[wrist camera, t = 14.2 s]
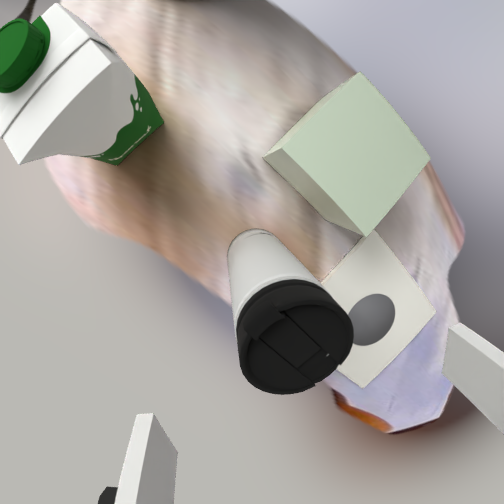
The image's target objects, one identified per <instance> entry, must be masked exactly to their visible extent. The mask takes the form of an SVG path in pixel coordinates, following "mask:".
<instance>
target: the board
mask: <svg viewBox="0 0 504 504" xmlns="http://www.w3.org/2000/svg"><path fill="white" fill-rule="evenodd" d="M321 284H322V285H323V286H324V288H325V289H326V290H327V291H328V292H329V293H330V294H331V296H332V297H333V299H334V300H335V301H336V302H337V303H338V304H339V305H340V306H341V307H342V308H343V310H344V311H345V312H346V313H347V314H348V316H349V318H350V319H351V322H352V325H353V328H354V340H353V345H352V348H351V351H350V353H349V355H348V357H347V358H346V359H345V361H344V362H343V363H342V365H341V366H340V365H338V367H337V370H338V371H339V372H341V373H342V374H343V375H345V376H346V377H347V378H349V379H350V380H352V381H353V382H354V383H356V384H357V385H358V386H360V387H361V388H364V387H365V386H367V385H368V384H369V383H370V382H371V381H372V380H373V379H374V378H375V377H376V376H377V375H378V374H379V373H380V372H381V371H382V370H383V369H385V368H386V367H387V366H388V365H389V364H390V363H391V362H392V361H393V360H394V359H395V358H396V356H397V355H398V354H399V353H400V352H401V351H402V350H403V349H404V348H405V347H406V346H407V345H408V344H409V343H410V342H411V341H412V340H413V338H414V337H415V336H416V335H417V334H418V333H419V332H420V331H421V329H422V328H423V327H424V326H425V325H426V324H427V323H428V321H429V320H430V319H431V318H432V317H433V315H434V314H435V313H436V310H435V309H434V307H433V306H432V304H431V303H430V301H429V300H428V299H427V297H426V296H425V294H424V293H423V291H422V290H421V289H420V287H419V286H418V285H417V283H416V282H415V280H414V279H413V278H412V276H411V275H410V274H409V272H408V271H407V270H406V268H405V267H404V266H403V264H402V263H401V262H400V261H399V259H398V258H397V257H396V255H395V254H394V253H393V252H392V250H391V249H390V248H389V247H388V245H387V244H386V243H385V242H384V240H383V239H382V238H381V237H380V236H379V234H378V233H377V232H376V231H375V229H373V231H372V232H371V233H370V234H369V235H368V236H367V237H365V236H363V237H362V238H361V239H360V240H359V242H358V243H357V244H356V245H355V246H354V247H353V248H352V249H351V250H350V252H349V253H348V254H347V255H346V256H345V257H344V258H343V259H342V260H341V261H340V263H339V264H338V265H337V266H336V267H335V268H334V269H333V270H332V271H331V272H330V273H329V274H328V276H327V277H326V278H325V279H324V280H323V281H322V282H321Z"/></svg>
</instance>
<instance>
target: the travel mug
mask: <svg viewBox="0 0 504 504" xmlns="http://www.w3.org/2000/svg"><path fill="white" fill-rule="evenodd" d="M227 260H228V271H229V281H230V290H231V300H232V309H233V318H234V327H235V336H236V341H237V344H238V353H239V360H240V367H241V370H242V373H243V375H244V376H245V378H246V379H247V380H248V382H249V383H251V384H252V385H253V386H254V387H256V388H258V389H260V390H262V391H265V392H268V393H272V394H281V395H284V394H294V393H299V392H303V391H305V390H307V389H310V388H312V387H314V386H315V384H314V383H317V382H320V381H322V380H323V379H325V378H326V377H328V376H329V375H330V374H331V373H332V372H333V371H334V370H336V369H337V367H338V365H340V366H341V365H342V363H343V362H344V361H345V359H346V358H347V357H348V355H349V353H350V351H351V348H352V345H353V340H354V328H353V325H352V322H351V319H350V318H349V316H348V314H347V313H346V312H345V311H344V310H343V308H342V307H341V306H340V305H339V304H338V303H337V302H336V301H335V300H334V299H333V297H332V296H331V294H330V293H329V292H328V291H327V290H326V289H325V288H324V286H323V285H322V284H321V283H320V282H319V281H318V280H317V279H316V278H315V277H314V276H313V275H312V274H311V273H310V272H309V271H308V270H307V269H306V267H305V266H304V265H303V264H302V263H301V262H300V261H299V260H298V259H297V258H296V257H295V256H294V255H293V254H292V253H291V252H290V251H289V250H288V249H287V248H286V247H285V246H284V245H283V243H282V242H281V241H280V240H279V239H278V238H277V237H276V236H274V235H273V234H272V233H270V232H269V231H266V230H263V229H250V230H246V231H244V232H242V233H240V234H239V235H238V236H236V237H235V238H234V240H233V241H232V242H231V244H230V246H229V249H228V254H227Z"/></svg>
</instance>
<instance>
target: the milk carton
mask: <svg viewBox="0 0 504 504" xmlns="http://www.w3.org/2000/svg"><path fill="white" fill-rule="evenodd" d="M163 123H164V121H163V119H162V118H161V116H160V114H159V112H158V110H157V108H156V106H155V104H154V102H153V100H152V98H151V96H150V94H149V92H148V91H147V90H146V88H145V87H144V85H143V84H142V83H141V82H140V80H139V79H138V78H137V77H136V75H135V74H134V73H133V72H132V71H131V69H130V68H129V67H128V66H127V65H126V63H125V62H124V61H123V60H122V59H121V58H120V56H119V55H118V54H117V52H116V51H115V50H114V49H113V48H112V47H111V46H110V45H109V44H108V43H107V42H106V41H105V40H104V39H103V38H102V37H101V36H100V35H99V34H98V33H97V32H95V31H94V30H93V29H92V28H91V27H90V26H89V25H87V24H86V23H85V22H84V21H83V20H81V19H80V18H79V17H77V16H76V15H75V14H73V13H72V12H70V11H69V10H67V9H66V8H64V7H63V6H61V5H60V4H58V3H55V4H54V5H52V6H51V7H50V8H49V9H48V10H47V11H46V12H45V13H44V14H43V15H42V16H39V17H38V18H37V19H36V20H35V21H34V22H33V23H32V24H31V23H29V22H28V21H26V20H24V19H15V20H12V21H10V22H8V23H7V24H6V25H4V26H3V27H2V28H1V29H0V138H2V139H3V140H4V141H5V143H6V145H7V146H8V148H9V150H10V151H11V153H12V155H13V156H14V158H15V160H16V161H17V163H18V164H19V165H21V164H24V163H27V162H30V161H34V160H38V159H42V158H45V157H49V156H53V155H57V154H62V155H70V156H79V157H86V158H92V159H96V160H99V161H103V162H106V163H110V164H113V165H119V164H120V163H121V162H122V161H123V160H124V159H125V158H126V157H127V156H128V155H129V154H130V153H131V152H132V151H133V150H134V149H135V148H136V147H137V146H138V145H139V144H141V143H142V142H143V141H144V140H145V139H146V138H147V137H148V136H149V135H150V134H152V133H153V132H154V131H155V130H156V129H157V128H158V127H160V126H161V125H162V124H163Z"/></svg>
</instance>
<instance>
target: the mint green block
mask: <svg viewBox="0 0 504 504" xmlns="http://www.w3.org/2000/svg"><path fill="white" fill-rule="evenodd" d="M263 159H264V160H265V161H266V162H267V163H268V164H270V165H271V166H272V167H273V168H274V169H275V170H276V171H277V172H278V173H279V174H280V175H281V176H282V177H283V178H284V179H285V180H286V181H287V182H288V183H289V184H290V185H291V186H293V187H294V188H295V189H296V190H297V191H298V192H299V193H300V194H301V195H302V196H303V197H304V198H305V199H306V200H307V201H308V202H309V203H310V204H311V205H312V206H313V207H314V208H315V209H316V210H317V211H318V213H319V214H320V215H321V216H322V217H323V218H324V219H325V220H327V221H329V222H331V223H334V224H336V225H339V226H341V227H344V228H346V229H348V230H351V231H353V232H355V233H358V234H360V235H362V236H365V237H367V236H368V235H369V234H370V233H371V232H372V231H373V229H374V228H375V227H376V226H377V225H378V224H379V222H380V221H381V220H382V219H383V218H384V216H385V215H386V214H387V213H388V212H389V210H390V209H391V208H392V207H393V206H394V204H395V203H396V202H397V201H398V200H399V198H400V197H401V196H402V195H403V193H404V192H405V191H406V190H407V188H408V187H409V186H410V185H411V183H412V182H413V181H414V180H415V178H416V177H417V176H418V174H419V173H420V172H421V171H422V169H423V168H424V167H425V165H426V164H427V163H428V161H429V160H430V159H431V158H430V156H429V155H428V153H427V152H426V150H425V149H424V148H423V146H422V145H421V143H420V142H419V141H418V139H417V138H416V136H415V135H414V134H413V132H412V131H411V130H410V128H409V127H408V126H407V125H406V123H405V122H404V121H403V120H402V118H401V117H400V116H399V115H398V113H397V112H396V111H395V110H394V108H393V107H392V106H391V105H390V104H389V102H388V101H387V100H386V99H385V98H384V97H383V95H382V94H381V93H380V92H379V91H378V90H377V89H376V88H375V87H374V85H373V84H372V83H371V82H370V81H369V80H368V79H367V78H366V77H365V76H364V75H363V74H362V73H361V72H358V73H357V74H355V75H354V76H352V77H351V78H350V79H348V80H347V81H345V82H344V83H342V84H341V85H340V86H338V87H337V88H335V89H334V90H333V91H331V92H330V93H329V94H327V95H326V96H324V97H323V98H322V99H321V100H320V101H319V102H318V103H317V104H315V105H314V106H313V107H312V108H311V109H310V110H309V111H308V112H307V113H306V114H305V115H304V116H303V117H302V118H301V119H300V120H299V121H298V122H297V123H296V124H295V125H294V126H293V127H292V128H291V129H290V130H289V131H288V132H287V133H286V134H285V135H284V136H283V137H282V138H281V139H280V140H279V141H278V142H277V143H276V144H275V145H274V146H273V147H272V148H271V149H270V150H269V151H268V152H267V153H266V154H265V155H264V157H263Z"/></svg>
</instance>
